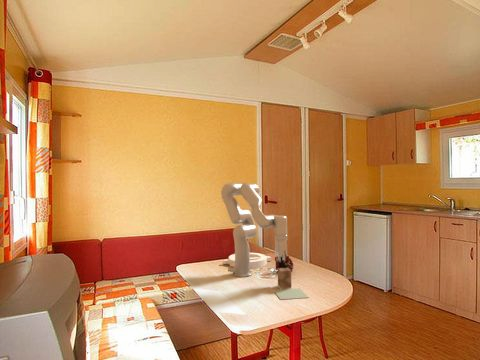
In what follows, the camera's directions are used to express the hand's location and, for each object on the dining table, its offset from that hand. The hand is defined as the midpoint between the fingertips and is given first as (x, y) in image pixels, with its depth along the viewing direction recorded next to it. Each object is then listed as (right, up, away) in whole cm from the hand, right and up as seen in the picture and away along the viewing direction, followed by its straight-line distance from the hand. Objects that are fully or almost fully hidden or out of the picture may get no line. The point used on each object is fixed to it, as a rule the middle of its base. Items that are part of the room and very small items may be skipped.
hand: (281, 268), depth 172 cm
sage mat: (+2, -9, -16) cm, 18 cm away
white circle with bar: (-19, -10, +46) cm, 51 cm away
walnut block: (+1, -9, -6) cm, 10 cm away
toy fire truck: (+5, -9, +23) cm, 26 cm away
